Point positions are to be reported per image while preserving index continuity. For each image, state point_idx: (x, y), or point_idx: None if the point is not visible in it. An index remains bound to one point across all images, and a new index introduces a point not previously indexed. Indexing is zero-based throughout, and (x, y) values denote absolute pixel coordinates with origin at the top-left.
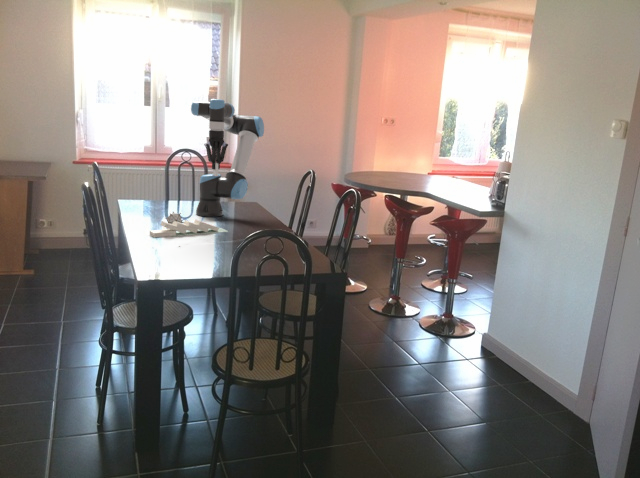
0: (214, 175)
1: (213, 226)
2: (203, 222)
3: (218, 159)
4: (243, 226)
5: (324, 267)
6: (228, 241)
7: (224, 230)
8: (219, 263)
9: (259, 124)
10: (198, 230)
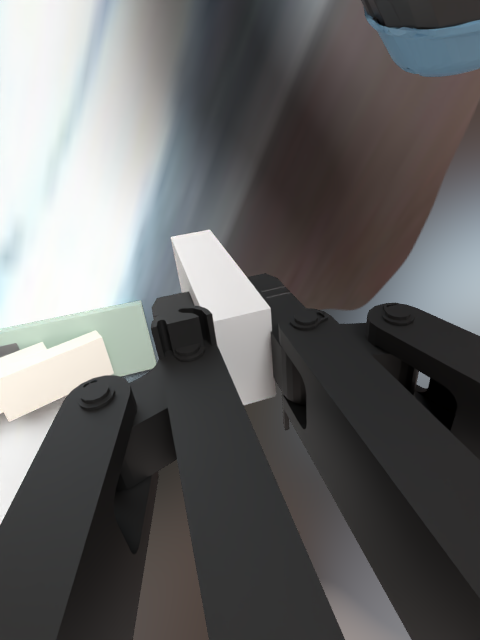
0: (178, 274)
1: None
2: (29, 409)
3: (312, 453)
4: (264, 252)
5: None
6: None
7: (143, 351)
8: None
9: None
10: (20, 343)
